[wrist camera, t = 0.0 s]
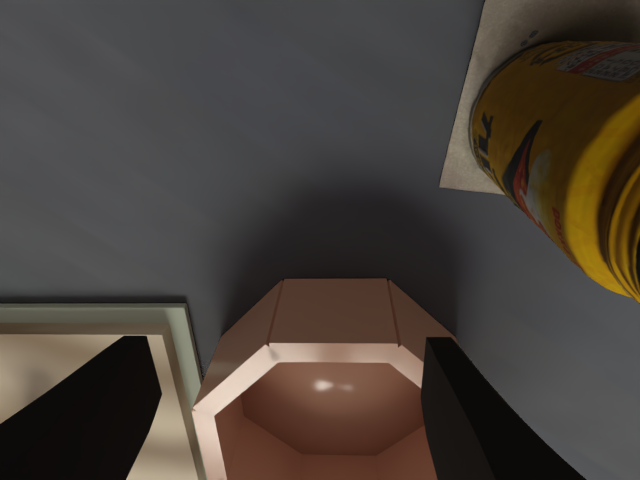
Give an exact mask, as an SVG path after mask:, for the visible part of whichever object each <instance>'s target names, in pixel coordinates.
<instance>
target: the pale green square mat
mask: <svg viewBox="0 0 640 480" xmlns="http://www.w3.org/2000/svg"><path fill="white" fill-rule="evenodd" d="M0 323H169V324H170V328H171V333H172V337H173V341H174V345H175V349H176V354H177V358H178V362H179V366H180V371H181V375H182V379H183V383H184V387H185V392H186V396H187V400H188V404H189V409H190V413H191V417H192V421H193V425H194V430H195V434H196V438H197V442H198V446H199V451H200V455H201V459H202V463H203V468H204V472H205V476H206V480H208V479H207V475H206V471H205V467H204V462H203V458H202V454H201V450H200V445H199V441H198V437H197V433H196V428H195V424H194V420H193V415H192V411H191V410H192V407H193V405H194V402H195V400H196V398H197V395H198V393H199V390H200V388H201V385H202V383H203V379H202V374H201V370H200V365H199V360H198V355H197V351H196V346H195V341H194V336H193V332H192V327H191V322H190V317H189V312H188V308H187V303H36V304H0Z"/></svg>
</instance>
